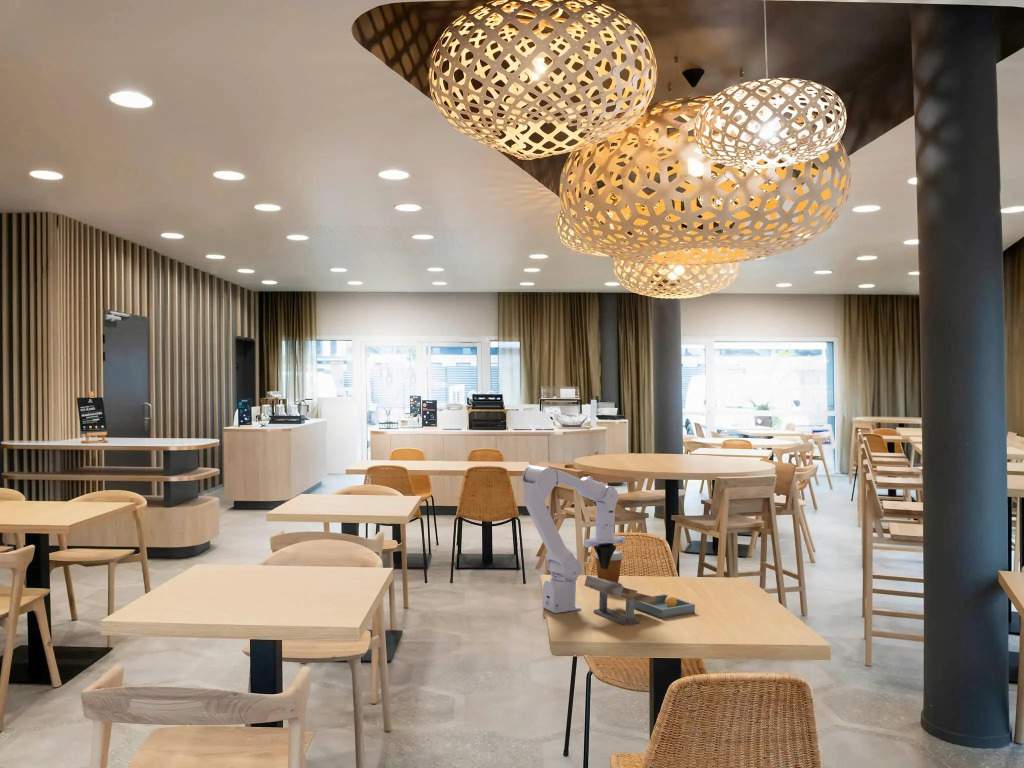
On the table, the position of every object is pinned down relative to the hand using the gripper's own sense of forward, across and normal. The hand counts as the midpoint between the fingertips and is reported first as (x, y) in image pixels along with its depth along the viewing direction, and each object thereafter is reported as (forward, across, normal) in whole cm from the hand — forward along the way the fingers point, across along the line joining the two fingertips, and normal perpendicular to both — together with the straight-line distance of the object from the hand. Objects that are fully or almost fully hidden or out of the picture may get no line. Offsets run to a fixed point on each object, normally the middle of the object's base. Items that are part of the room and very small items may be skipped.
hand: (604, 568), depth 242 cm
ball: (+8, +14, -15) cm, 22 cm away
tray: (+10, +11, -15) cm, 21 cm away
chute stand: (+10, -7, -15) cm, 20 cm away
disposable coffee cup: (+11, +13, +14) cm, 22 cm away
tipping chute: (+4, -6, -11) cm, 13 cm away
